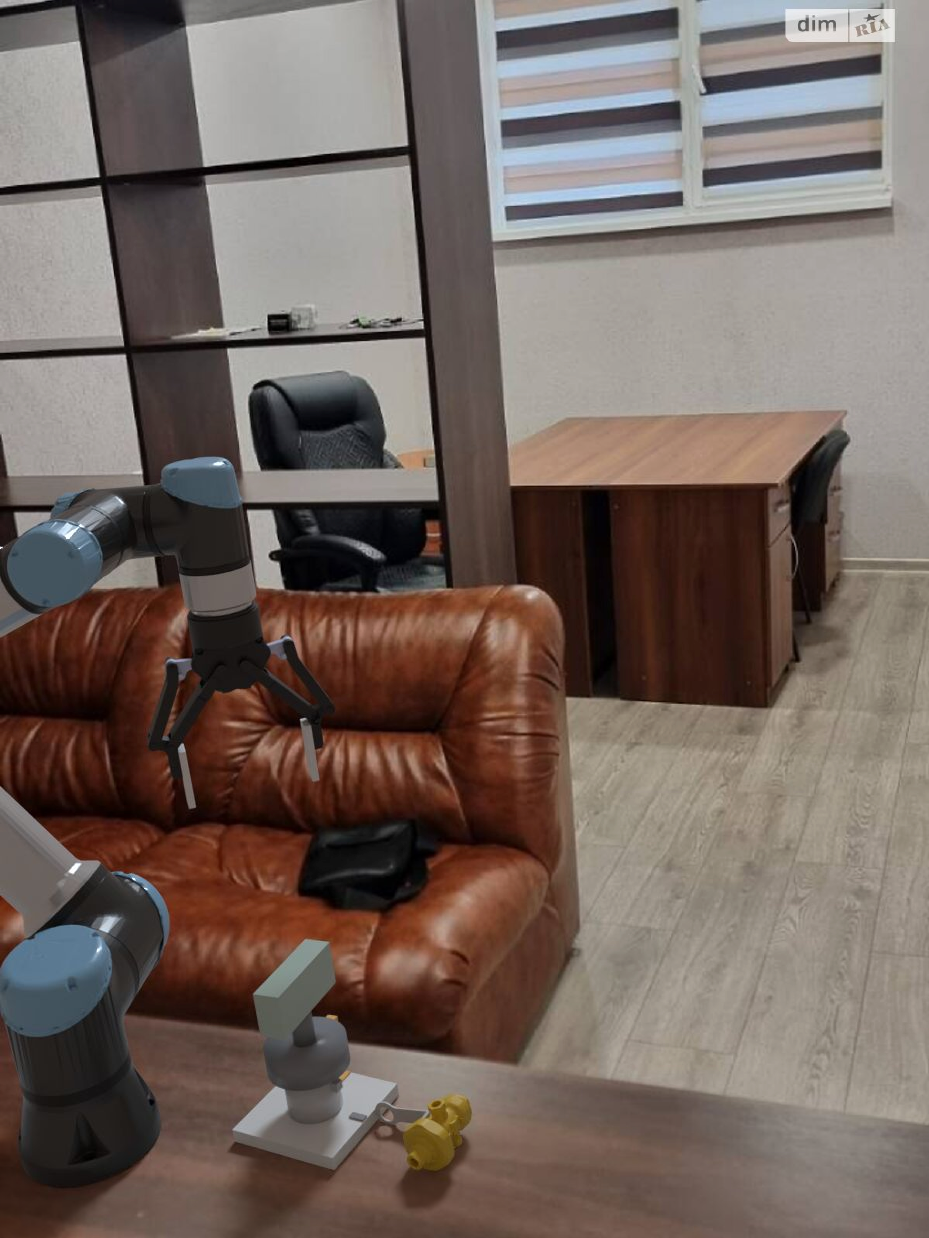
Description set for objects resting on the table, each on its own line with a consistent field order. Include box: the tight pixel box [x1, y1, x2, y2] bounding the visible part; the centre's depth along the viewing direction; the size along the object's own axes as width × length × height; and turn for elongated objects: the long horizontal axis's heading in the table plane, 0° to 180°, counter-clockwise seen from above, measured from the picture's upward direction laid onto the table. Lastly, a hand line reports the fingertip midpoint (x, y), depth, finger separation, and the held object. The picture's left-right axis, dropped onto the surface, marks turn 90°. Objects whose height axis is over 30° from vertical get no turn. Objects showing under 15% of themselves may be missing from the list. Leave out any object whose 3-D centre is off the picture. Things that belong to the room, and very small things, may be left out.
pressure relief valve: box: [375, 1093, 473, 1172], centre depth 142 cm, size 6×12×10 cm
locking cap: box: [252, 938, 351, 1091], centre depth 145 cm, size 12×9×12 cm
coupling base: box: [232, 1069, 400, 1171], centre depth 148 cm, size 13×13×6 cm
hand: (253, 790), depth 149 cm, fingers open, 13 cm apart
